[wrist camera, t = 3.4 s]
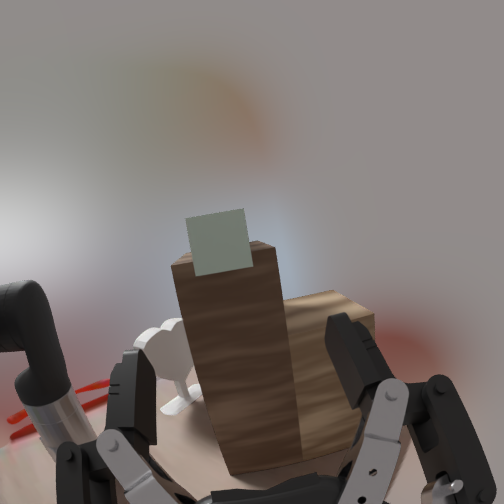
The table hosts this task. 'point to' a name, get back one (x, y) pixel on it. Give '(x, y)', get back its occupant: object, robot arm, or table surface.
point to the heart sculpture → (170, 361)
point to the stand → (266, 363)
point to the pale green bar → (219, 242)
